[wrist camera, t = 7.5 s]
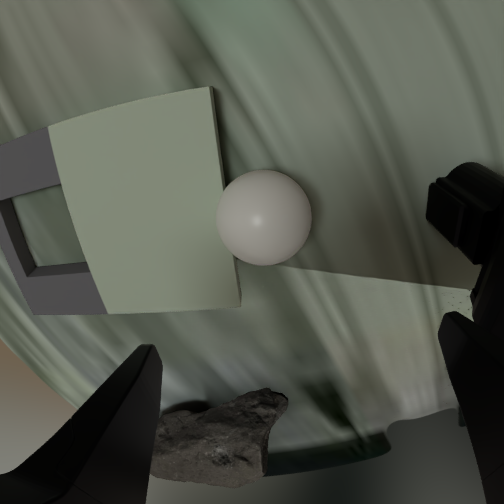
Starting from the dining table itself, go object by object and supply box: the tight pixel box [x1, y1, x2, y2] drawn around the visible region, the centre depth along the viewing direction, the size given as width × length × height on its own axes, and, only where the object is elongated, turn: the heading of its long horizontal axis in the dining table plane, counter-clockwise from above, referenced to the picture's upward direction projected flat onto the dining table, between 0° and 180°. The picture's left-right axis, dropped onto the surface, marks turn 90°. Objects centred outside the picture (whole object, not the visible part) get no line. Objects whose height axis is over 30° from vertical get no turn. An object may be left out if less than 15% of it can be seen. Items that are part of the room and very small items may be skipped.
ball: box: [216, 170, 312, 265], centre depth 17 cm, size 5×5×5 cm
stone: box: [150, 388, 288, 488], centre depth 28 cm, size 18×9×10 cm
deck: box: [0, 86, 241, 315], centre depth 19 cm, size 18×14×2 cm
